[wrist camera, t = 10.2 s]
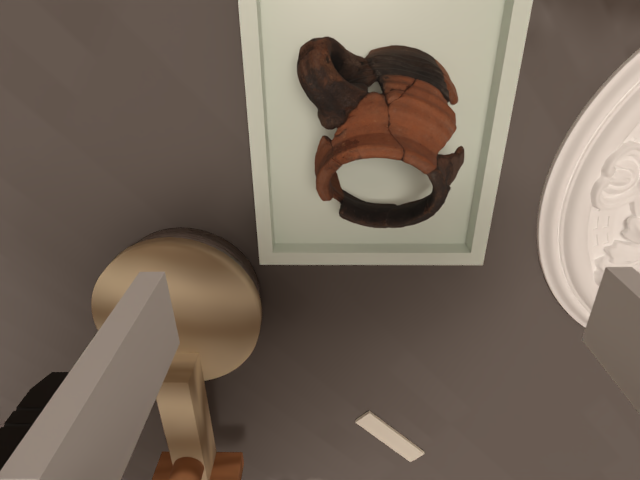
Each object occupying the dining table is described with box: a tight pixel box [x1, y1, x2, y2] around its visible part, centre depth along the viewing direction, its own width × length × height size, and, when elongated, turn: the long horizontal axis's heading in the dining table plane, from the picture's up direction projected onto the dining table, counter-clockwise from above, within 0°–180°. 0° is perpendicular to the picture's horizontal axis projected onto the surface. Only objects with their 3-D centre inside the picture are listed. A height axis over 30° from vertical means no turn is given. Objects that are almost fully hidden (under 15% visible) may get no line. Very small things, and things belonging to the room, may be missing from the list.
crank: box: [91, 237, 262, 480], centre depth 32 cm, size 22×12×7 cm, turn 0°
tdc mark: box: [355, 411, 424, 462], centre depth 43 cm, size 8×2×1 cm, turn 45°
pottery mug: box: [297, 37, 464, 228], centre depth 26 cm, size 12×10×8 cm
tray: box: [238, 0, 533, 265], centre depth 28 cm, size 16×19×2 cm
